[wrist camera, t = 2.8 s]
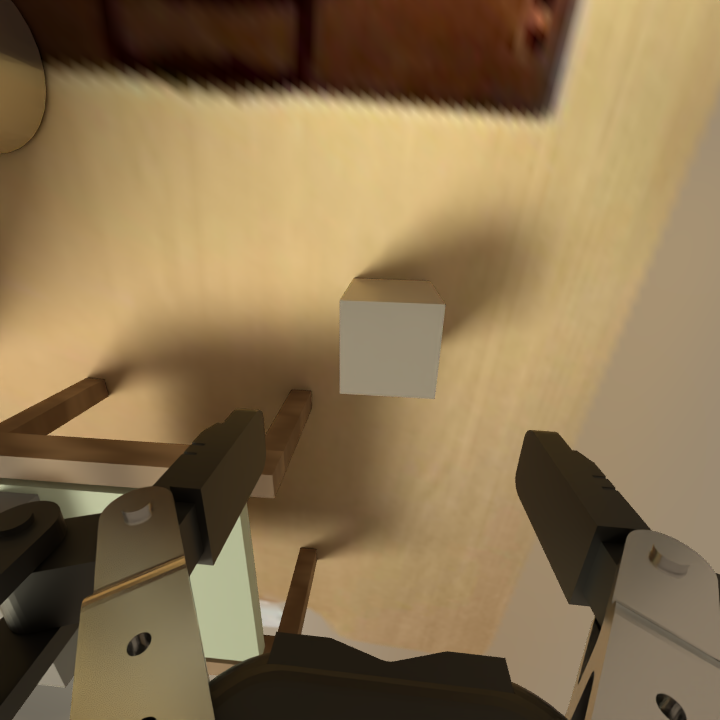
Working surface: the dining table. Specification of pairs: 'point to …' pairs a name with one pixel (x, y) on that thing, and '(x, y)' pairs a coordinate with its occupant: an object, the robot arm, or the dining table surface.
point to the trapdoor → (209, 583)
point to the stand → (145, 468)
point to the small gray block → (390, 338)
